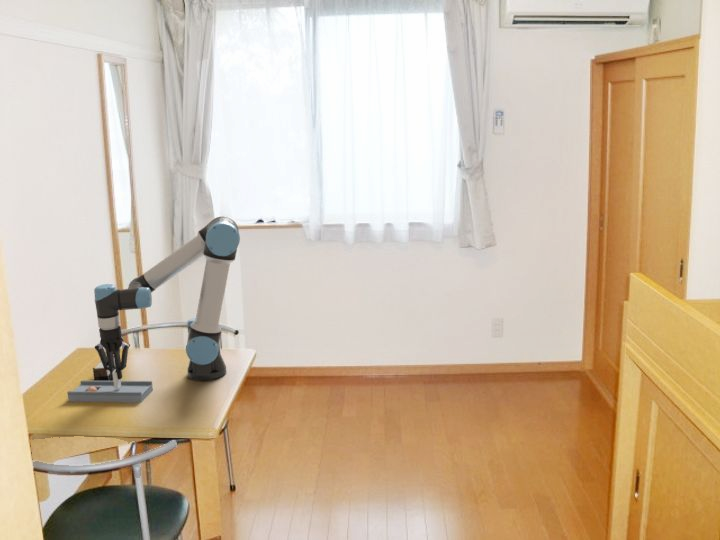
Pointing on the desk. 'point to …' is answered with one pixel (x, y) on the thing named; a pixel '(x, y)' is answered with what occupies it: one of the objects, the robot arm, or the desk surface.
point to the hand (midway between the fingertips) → (117, 386)
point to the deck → (111, 391)
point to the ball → (92, 389)
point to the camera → (101, 372)
